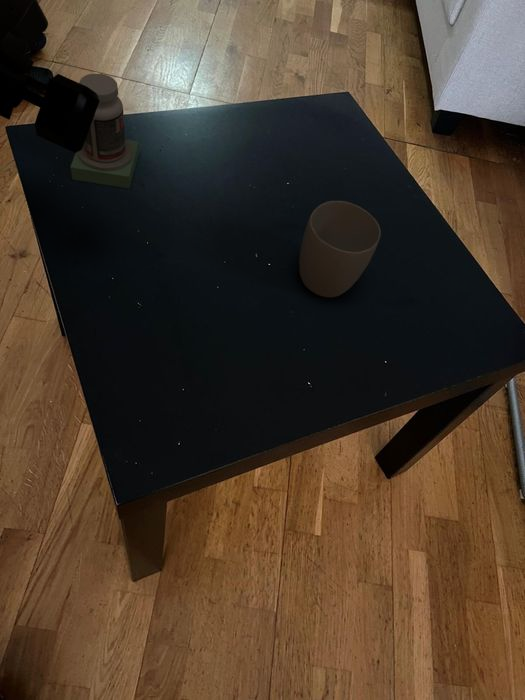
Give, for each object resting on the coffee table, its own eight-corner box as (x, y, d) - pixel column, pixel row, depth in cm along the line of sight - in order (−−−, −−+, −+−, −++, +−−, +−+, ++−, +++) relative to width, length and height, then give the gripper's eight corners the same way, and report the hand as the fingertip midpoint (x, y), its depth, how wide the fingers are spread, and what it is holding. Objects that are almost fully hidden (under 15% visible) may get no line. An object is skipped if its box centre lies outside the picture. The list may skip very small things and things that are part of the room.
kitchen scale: (70, 179, 76) (68, 163, 73) (83, 144, 80) (81, 128, 78) (129, 189, 77) (128, 173, 74) (139, 154, 81) (138, 137, 79)
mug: (344, 315, 70) (369, 264, 62) (282, 287, 71) (298, 233, 63) (371, 255, 78) (397, 201, 69) (314, 230, 78) (333, 174, 70)
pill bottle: (131, 144, 78) (128, 78, 70) (118, 167, 75) (113, 101, 66) (92, 133, 78) (84, 66, 69) (77, 157, 74) (68, 89, 66)
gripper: (76, 2, 44) (149, 74, 60) (-109, -77, 46) (7, 12, 62) (31, 132, 46) (112, 170, 62) (-145, 51, 48) (-24, 107, 64)
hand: (52, 112), depth 62 cm, fingers open, 9 cm apart
